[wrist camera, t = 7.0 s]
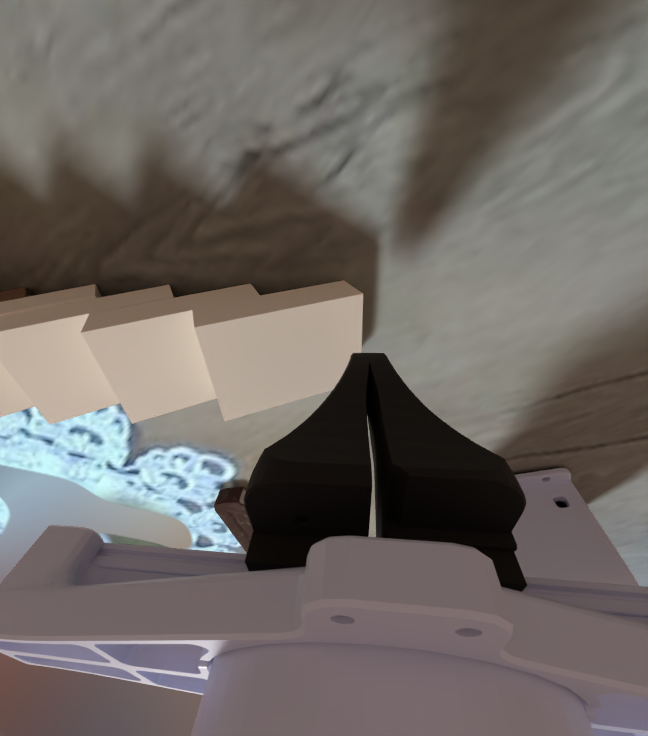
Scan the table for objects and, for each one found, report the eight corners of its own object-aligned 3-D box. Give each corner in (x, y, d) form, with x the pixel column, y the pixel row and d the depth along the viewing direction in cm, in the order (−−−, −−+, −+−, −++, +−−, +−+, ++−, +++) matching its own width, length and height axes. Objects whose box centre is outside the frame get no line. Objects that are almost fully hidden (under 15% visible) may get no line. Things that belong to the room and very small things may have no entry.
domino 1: (94, 295, 15) (-115, 337, 12) (134, 375, 17) (-27, 425, 14) (95, 284, 16) (-92, 319, 13) (132, 359, 19) (-16, 402, 16)
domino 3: (260, 296, 14) (80, 332, 11) (275, 380, 16) (131, 423, 14) (250, 283, 15) (89, 313, 13) (265, 362, 18) (134, 399, 16)
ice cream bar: (314, 564, 33) (271, 482, 25) (312, 581, 32) (266, 500, 24) (269, 563, 35) (215, 485, 26) (266, 580, 33) (207, 502, 25)
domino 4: (363, 293, 13) (194, 327, 11) (360, 381, 16) (224, 421, 14) (343, 280, 15) (192, 307, 13) (344, 362, 17) (219, 395, 15)
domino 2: (173, 296, 14) (-21, 335, 12) (201, 378, 17) (49, 424, 14) (169, 284, 16) (-3, 316, 13) (196, 361, 18) (57, 400, 16)
